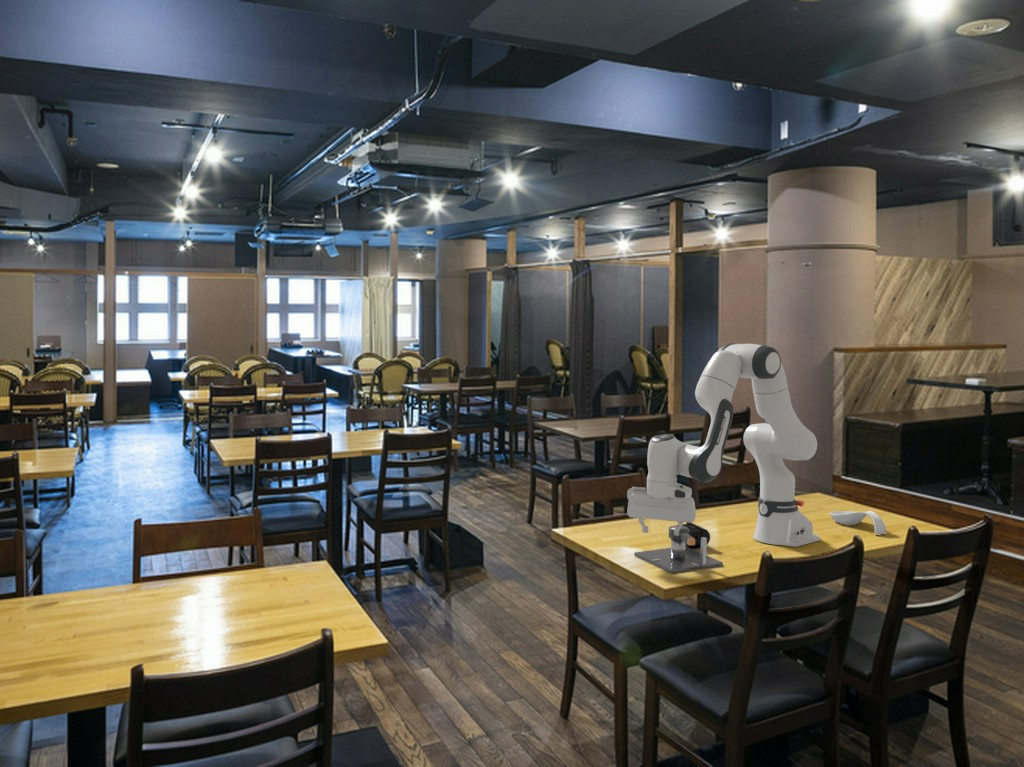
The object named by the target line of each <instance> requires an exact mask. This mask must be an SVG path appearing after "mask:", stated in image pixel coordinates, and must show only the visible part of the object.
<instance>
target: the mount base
mask: <svg viewBox="0 0 1024 767" xmlns="http://www.w3.org/2000/svg"><path fill="white" fill-rule="evenodd" d="M707 545H708V544H707V538H705V537H702V538H701V549H700V552H699V551H697V550H696V549H694V550H692V549H690V548H688V547H686V543H685V542H684V541H682V540H673V539H670V547H666V548H659V549H658V548H657V549H651V550H645V551H644V550H643V551H635V552H634V553H633V554H634V557H635V558H638V559H640V560H643V561H645V562H647V563H649V564H650V565H653V566H654V567H657V568H659V569H661V570H663V571H665V572H667V573H670V574H676V573H678V574H679V573H683V572H691V571H697V569H698V570H702V569H703V570H704V569H711V568H717V567H722V566H723V565H724V562H723V561H720V560H718V559H717V558H716V559H715V558H713V557H711V556H709V555H707V548H708V546H707ZM710 567H711V568H710Z"/></svg>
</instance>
